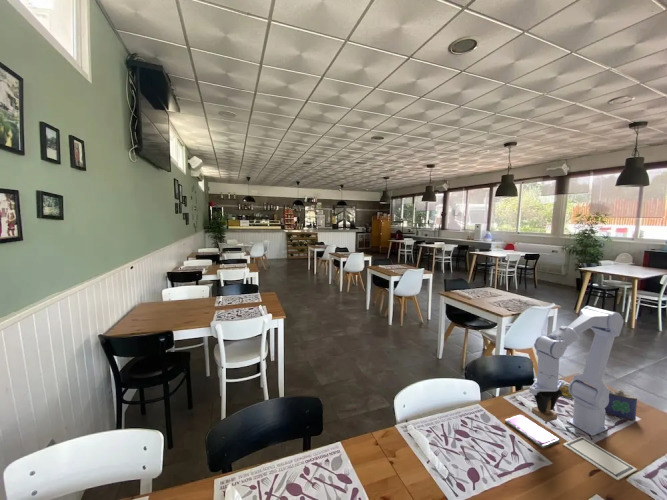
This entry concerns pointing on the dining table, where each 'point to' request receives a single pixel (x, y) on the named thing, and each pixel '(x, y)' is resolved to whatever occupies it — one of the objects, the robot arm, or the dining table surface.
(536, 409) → the stamp
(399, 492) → the dining table surface
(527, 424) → the ink pad
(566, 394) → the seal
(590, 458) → the marked card
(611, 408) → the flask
